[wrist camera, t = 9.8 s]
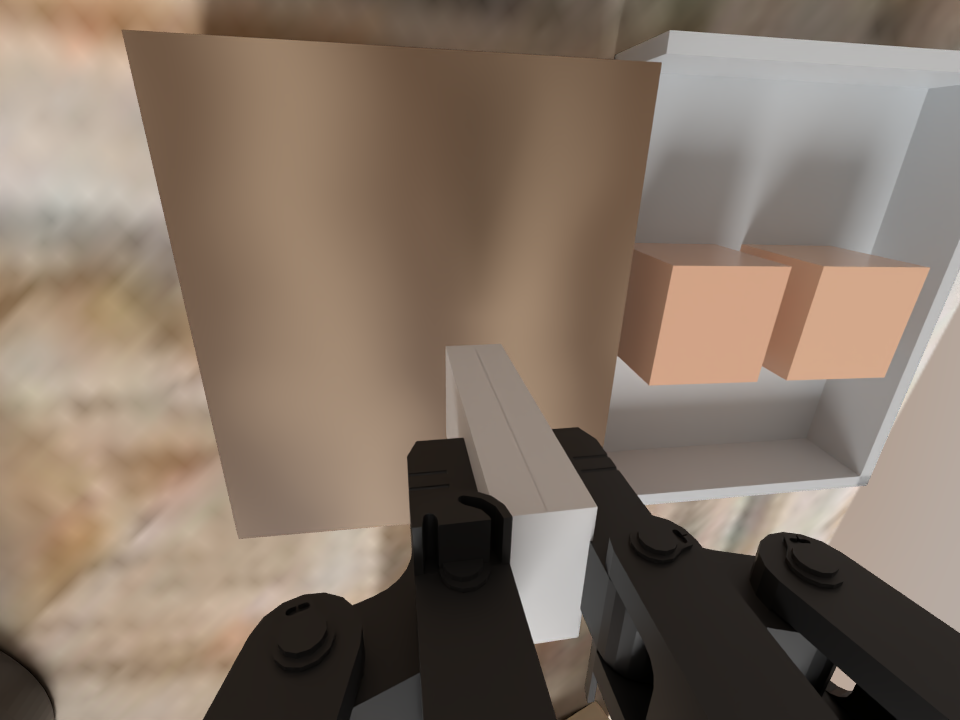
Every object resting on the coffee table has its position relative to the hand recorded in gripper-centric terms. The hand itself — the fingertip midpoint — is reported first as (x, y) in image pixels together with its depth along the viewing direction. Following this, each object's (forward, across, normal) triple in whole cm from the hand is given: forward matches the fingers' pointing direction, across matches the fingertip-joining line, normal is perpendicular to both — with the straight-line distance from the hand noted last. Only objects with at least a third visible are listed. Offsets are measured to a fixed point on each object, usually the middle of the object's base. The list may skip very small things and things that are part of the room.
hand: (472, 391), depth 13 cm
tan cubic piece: (+5, +12, 0) cm, 13 cm away
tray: (+8, +14, 0) cm, 16 cm away
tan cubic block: (+3, +15, 0) cm, 16 cm away
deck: (+8, -1, +1) cm, 8 cm away
